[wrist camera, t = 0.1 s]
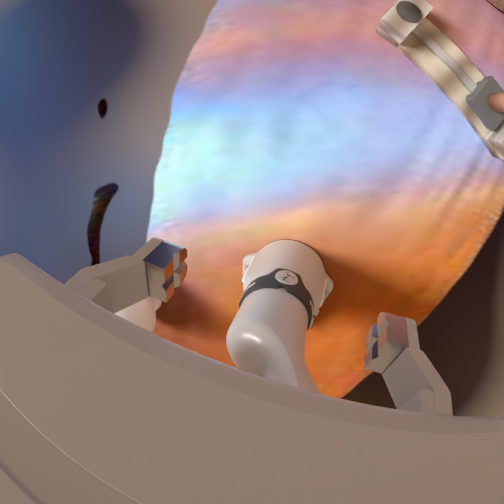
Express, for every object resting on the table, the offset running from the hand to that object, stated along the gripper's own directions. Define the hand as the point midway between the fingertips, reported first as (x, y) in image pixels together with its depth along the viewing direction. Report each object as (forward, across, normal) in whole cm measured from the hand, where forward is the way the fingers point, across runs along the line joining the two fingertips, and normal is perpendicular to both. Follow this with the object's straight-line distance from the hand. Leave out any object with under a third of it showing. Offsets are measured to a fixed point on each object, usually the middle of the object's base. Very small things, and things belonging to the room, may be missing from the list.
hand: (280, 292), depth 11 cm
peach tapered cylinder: (+39, +25, +17) cm, 49 cm away
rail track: (+41, +19, +19) cm, 49 cm away
